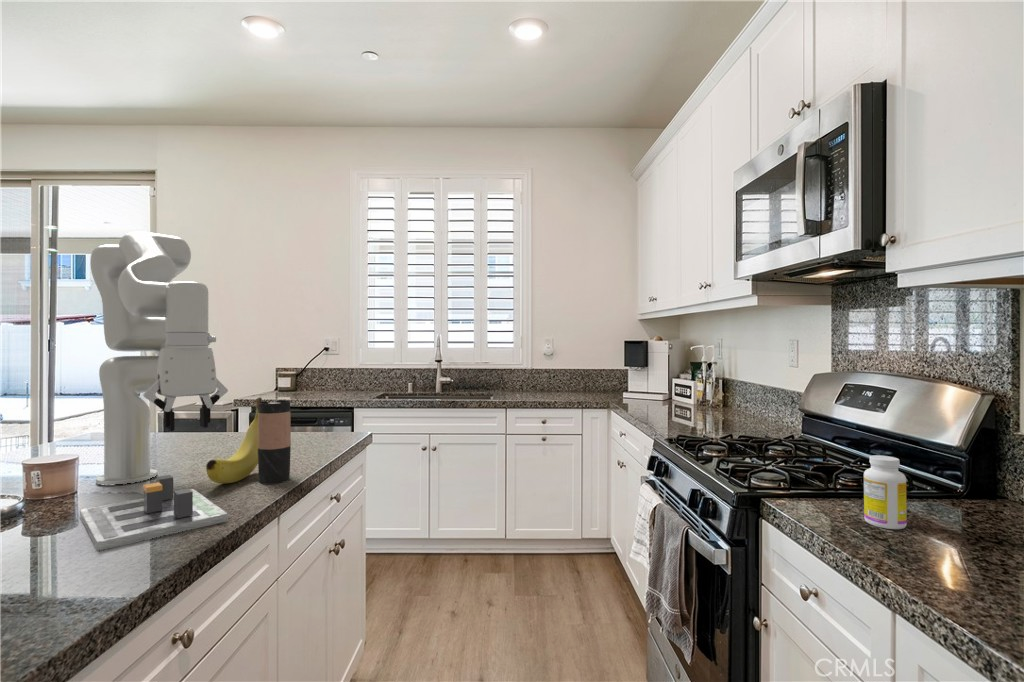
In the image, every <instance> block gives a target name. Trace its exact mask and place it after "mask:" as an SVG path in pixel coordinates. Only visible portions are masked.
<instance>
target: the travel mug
mask: <svg viewBox="0 0 1024 682" xmlns="http://www.w3.org/2000/svg"><path fill="white" fill-rule="evenodd" d="M291 428H292V427H291V401H290V400H286V399H285V400H284V399H283V400H282V399H281V400H280V399H279V400H276V401H275V402H268V401H267V400H264V401H263V400H262V402H259V403H258V464H257V466H258V470H257V471H258V482H259V484H263V485H273V484H274V485H275V484H280V483H284V482H287V481H289V480H290V479H291V478H290V477H291V450H292V449H291V447H292V445H291V444H292V440H291V438H292V437H291V435H292V434H291V433H292V432H291Z"/></svg>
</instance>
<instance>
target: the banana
mask: <svg viewBox="0 0 1024 682" xmlns="http://www.w3.org/2000/svg"><path fill="white" fill-rule="evenodd" d="M259 402H263V400H262V397H260V396H259V397H257V398H256V399H255V402H254V405H253V406H254V407H255V416H254V418H253V421H251V423H250V424H249V426H248V428H247V430H246V432H245V435H244V438H243V440H242V442H241V444H240V445H239V447H238V449H237V451H235V453H234V454H232V455H231V456H230V457H229V458H226V459H223V458H222V459H221V458H220V459H217V458H214V459H211V460H209V461H207V463H206V464H205V465H206V468H205V470H206V474H207V477H208V478H209V480H211V481H212V482H214V483H217V484H233V483H237V482H239V481H241V480H243V479H245V478H246V477H248V476H249V475H250V474H252V472H253V471H254V470H255V469H256V467H257V466H258V403H259Z"/></svg>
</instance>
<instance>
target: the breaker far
mask: <svg viewBox="0 0 1024 682" xmlns="http://www.w3.org/2000/svg"><path fill="white" fill-rule="evenodd" d="M155 479H156V481H155V483H157V482H159V483H160V484H162V500H167V499H173V493H174V476H173V475H171V474H166V475H159V476H156V478H155Z"/></svg>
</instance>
